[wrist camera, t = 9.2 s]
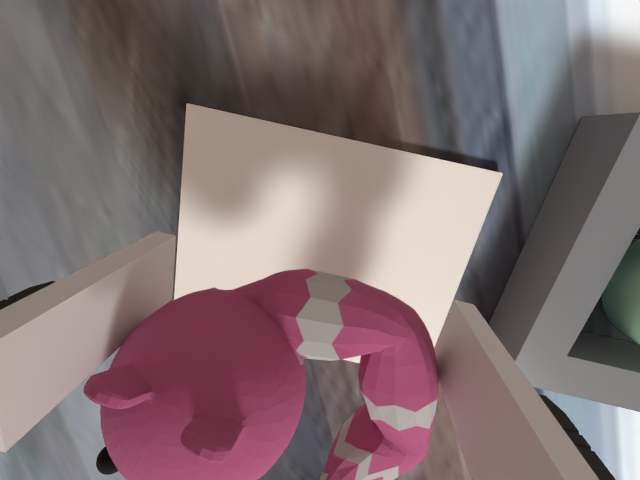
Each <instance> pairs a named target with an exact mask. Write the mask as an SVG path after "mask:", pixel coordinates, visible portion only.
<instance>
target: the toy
mask: <svg viewBox="0 0 640 480" xmlns="http://www.w3.org/2000/svg"><path fill="white" fill-rule="evenodd" d="M357 356H361V359H360V365H359V372H358V377H359V385H360V390H361V393H362V395H363V397H364V399H365V402H366V403H365V404H364V405H362V406H361V407H360V408H359V409H357V410H356V411H355V412H354V413H353V414H352V415H351V416H350V417H349V418H348V419H347V421H346V422H345V423H344V424H343V425H342V427H341V429H340V431H339V433H338V435H337V437H336V439H335V441H334V443H333V446H332V448H331V451H330V453H329V456H328V460H327V463H326V466H325V468H324V471H323V473H322V475H321V477H320V480H394V479H395V478H397V477H399V476H401V475H402V474H404V473H405V472H407V471H409V470H410V469H412V468H413V467H415V466H416V465H418V464H419V463H420V462H421V461H422V460H423V459H424V458H425V456H426V455H427V451H428V444H429V438H430V433H431V430H432V428H433V425H434V420H435V411H436V405H437V398H438V369H437V362H436V356H435V351H434V346H433V342H432V339H431V337H430V334H429V332H428V330H427V328H426V326H425V324H424V322H423V321H422V319H421V318H420V316H419V315H418V314H417V312H416V311H415V310H414V309H413V308H412V307H410V306H409V305H407V304H406V303H404V302H403V301H401V300H400V299H398V298H397V297H395V296H393V295H391V294H389V293H387V292H385V291H383V290H380V289H377V288H375V287H372V286H370V285H367V284H364V283H362V282H360V281H358V280H356V279H352V278H347V277H343V276H338V275H334V274H329V273H325V272H320V271H315V270H311V269H297V270H286V271H282V272H278V273H275V274H273V275H270V276H268V277H266V278H264V279H261V280H258V281H255V282H253V283H250V284H247V285H244V286H241V287H239V288H236V289H233V290H220V289H217V288H215V287H214V288H210V289H206V290H201V291H197V292H193V293H189V294H187V295H184V296H182V297H179V298H177V299H175V300H173V301H171V302H169V303H167V304H166V305H164V306H163V307H161V308H160V309H158V310H156V311H155V312H154V313H152V314H151V315H150V316H149V317H147V318H146V319H145V320H144V321H143V322H141V323H140V324H139V325H138V326H137V327H136V328H135V329H134V330H133V332H132V333H131V334H130V335H129V336H128V338H127V339H126V340H125V342H124V343H123V344H122V346H121V348H120V349H119V351H118V352H117V354H116V356H115V358H114V360H113V362H112V364H111V366H110V368H109V370H107V371H104V372H101V373H98V374H95V375H92V376H91V377H90V378H89V380H88V381H87V383H86V385H85V386H84V393H85V395H86V397H88V398H89V399H90V400H92V401H93V402H95V403H97V404H100V405H101V411H100V413H101V428H102V433H103V438H104V442H105V445H106V446H105V447H104V448H103V449H102V450H101V452H100V453H99V455H98V457H97V461H96V466H97V469H98V471H99V472H101V473H102V474H106V475H107V474H113V473H115V472H117V471H119V472H120V473H121V474H122V475H123V476H124V477H125V478H126V479H127V480H258V479H259V478H260V477H261V476H263V475H264V474H265V473H266V472H267V471H268V470H269V469H270V468H271V467H272V466H273V464H274V463H275V462H276V461H277V460H278V458H279V457H280V456H281V454H282V453H283V452H284V450H285V449H286V447H287V445H288V444H289V442H290V440H291V438H292V436H293V434H294V432H295V430H296V427H297V425H298V422H299V419H300V416H301V412H302V409H303V404H304V398H305V365H304V358H305V359H317V360H329V361H332V360H341V359H346V358H352V357H357Z"/></svg>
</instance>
